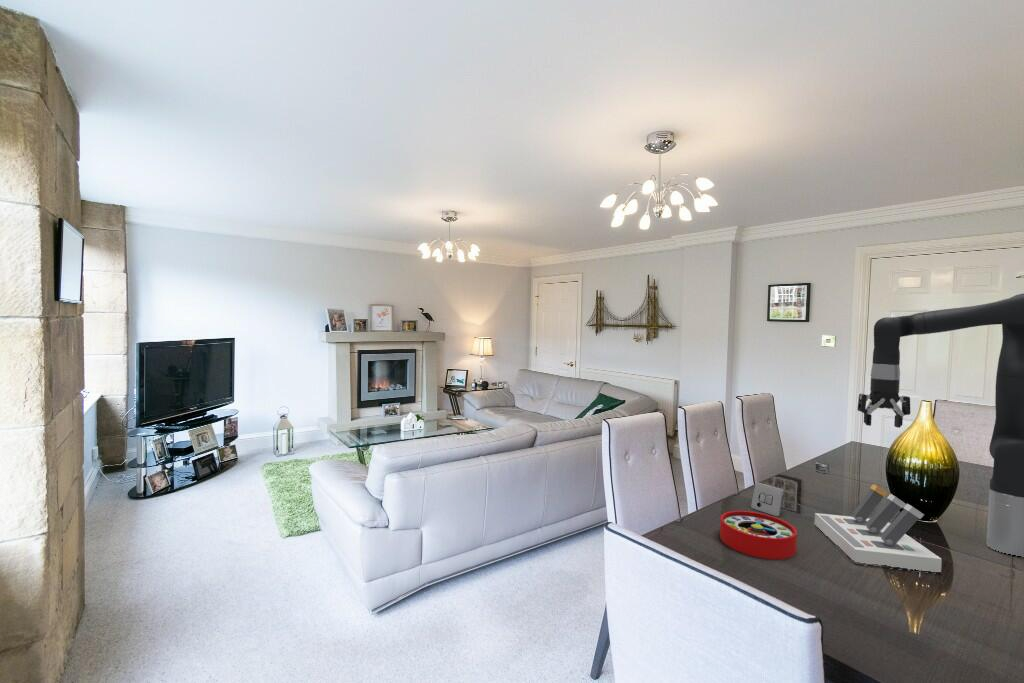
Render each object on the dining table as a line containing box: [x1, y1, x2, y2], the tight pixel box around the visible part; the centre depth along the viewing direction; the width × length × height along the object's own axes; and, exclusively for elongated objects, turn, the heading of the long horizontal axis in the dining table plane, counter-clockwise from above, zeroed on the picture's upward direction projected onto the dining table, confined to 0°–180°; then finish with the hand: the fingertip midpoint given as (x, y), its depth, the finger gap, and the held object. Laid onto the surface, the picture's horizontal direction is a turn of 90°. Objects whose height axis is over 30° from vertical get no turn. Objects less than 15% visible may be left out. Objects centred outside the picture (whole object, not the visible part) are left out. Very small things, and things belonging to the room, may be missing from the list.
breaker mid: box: [866, 493, 907, 533], centre depth 137 cm, size 3×3×12 cm
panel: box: [814, 512, 942, 573], centre depth 138 cm, size 20×26×4 cm
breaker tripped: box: [851, 483, 889, 522], centre depth 145 cm, size 3×3×12 cm
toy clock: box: [719, 510, 798, 560], centre depth 139 cm, size 20×6×20 cm
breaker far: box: [880, 503, 925, 545], centre depth 129 cm, size 3×3×12 cm
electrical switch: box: [750, 482, 785, 517], centre depth 164 cm, size 9×5×9 cm, turn 35°
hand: (882, 426), depth 156 cm, fingers open, 8 cm apart
